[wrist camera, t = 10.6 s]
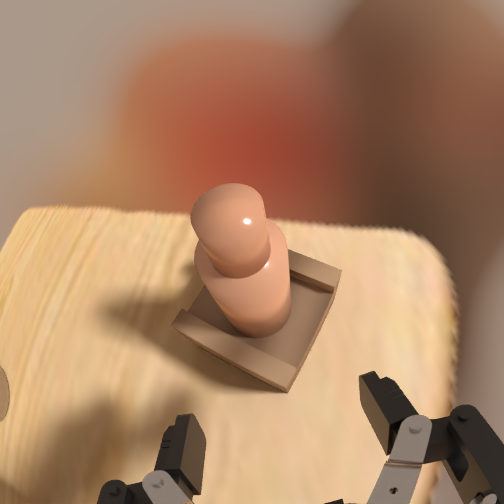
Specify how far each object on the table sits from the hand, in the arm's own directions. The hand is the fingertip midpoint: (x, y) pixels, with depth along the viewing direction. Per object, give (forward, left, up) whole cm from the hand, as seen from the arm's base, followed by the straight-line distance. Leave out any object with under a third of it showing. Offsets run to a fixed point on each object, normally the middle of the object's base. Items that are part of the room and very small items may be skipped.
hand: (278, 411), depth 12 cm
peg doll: (-6, +6, -8) cm, 12 cm away
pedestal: (-6, +7, -13) cm, 15 cm away
